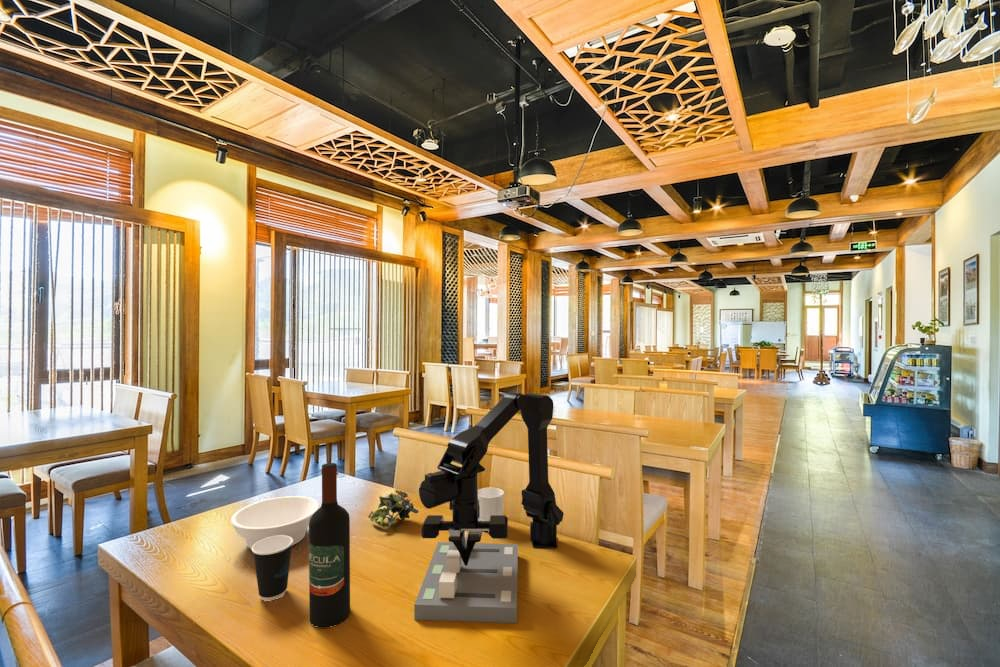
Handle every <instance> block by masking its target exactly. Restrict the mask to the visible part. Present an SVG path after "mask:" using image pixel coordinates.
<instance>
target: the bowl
mask: <svg viewBox="0 0 1000 667" xmlns="http://www.w3.org/2000/svg"><path fill="white" fill-rule="evenodd" d="M320 507H321V505H320V503H319V501H318V500H316V499H315V498H313V497H310V496H309V497H308V496H302V495H287V496H278V497H272V498H267V499H263V500H260V501H257V502H254V503H250V504H248V505H246V506H244V507H242V508H240V509H239V510H237V511H236V512H235V513H234V514H233V515H232V516H231V518H230V523H231V525H232V527H233V528H234V530H235V531H236V533H237V535H239V536H240V537H241V538H244V540H245V542H246V544H247V545H246V546H247V547H248V548H249V549H250V550H251V549H252V546H253V545H254V544H255V543H256V542H258V541H260V540H262V539H264V538H267V537H271V536H277V535H285V536H290V537H291V538H292V539H293V544H292V546H294V545H295V544H298V543H299V542H301V540H303V539H304V538H305V536H306V534H307V533H306V532H307V529H308V528H309V521H310V518H311V517H312V515H313V514H314V513H315V512H316V511H317V510H318V509H319V508H320Z"/></svg>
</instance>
